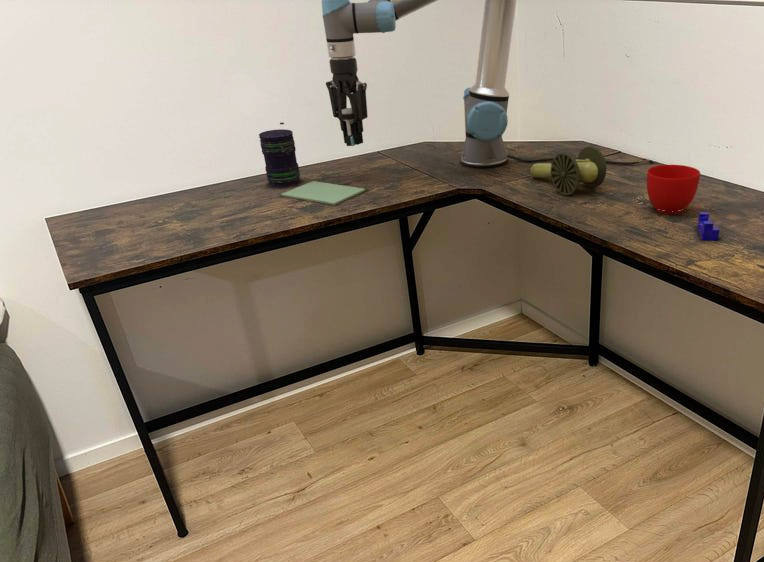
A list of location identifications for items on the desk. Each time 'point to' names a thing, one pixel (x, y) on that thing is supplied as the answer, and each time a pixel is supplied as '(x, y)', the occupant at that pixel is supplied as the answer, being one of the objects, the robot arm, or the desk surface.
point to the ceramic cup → (672, 187)
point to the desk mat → (323, 192)
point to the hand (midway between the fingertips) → (353, 142)
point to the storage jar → (280, 158)
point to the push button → (348, 125)
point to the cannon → (573, 170)
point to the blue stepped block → (707, 227)
